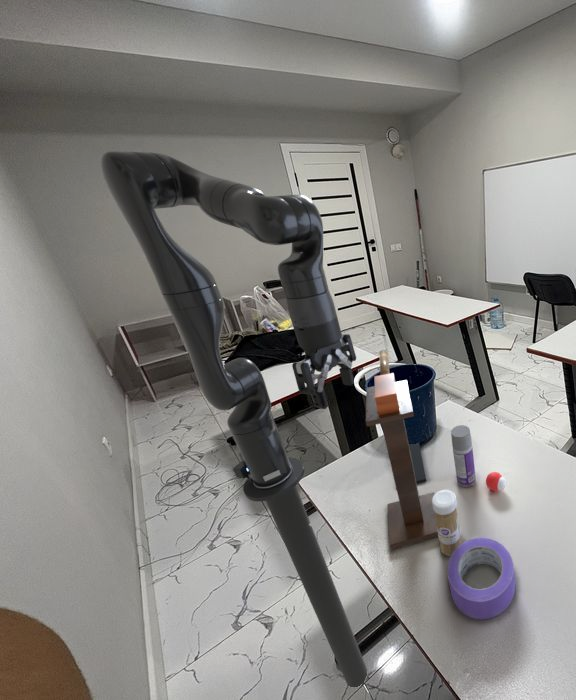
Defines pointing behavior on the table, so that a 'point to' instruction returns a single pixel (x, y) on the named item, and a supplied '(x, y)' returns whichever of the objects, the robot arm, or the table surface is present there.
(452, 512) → the sprinkles bottle
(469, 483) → the container
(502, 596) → the tape roll
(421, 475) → the drying mat
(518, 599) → the table surface
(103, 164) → the robot arm
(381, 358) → the copper block with handle
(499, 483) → the molecule
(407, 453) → the wooden pedestal stand
